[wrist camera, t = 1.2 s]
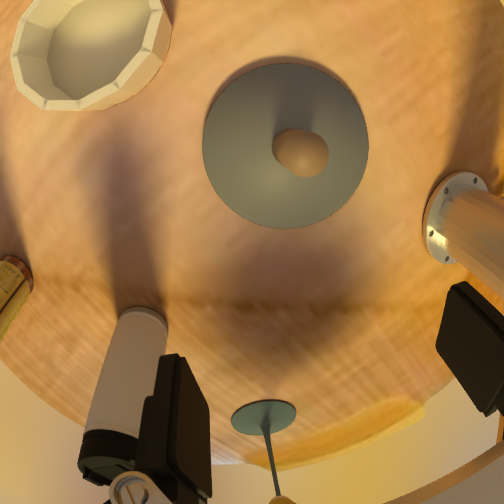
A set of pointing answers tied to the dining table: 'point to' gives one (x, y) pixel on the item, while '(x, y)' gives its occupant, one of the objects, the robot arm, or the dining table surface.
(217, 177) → the lid
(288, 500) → the cocktail glass
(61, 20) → the bowl
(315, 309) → the dining table surface
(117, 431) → the travel mug
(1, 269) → the sauce bottle
